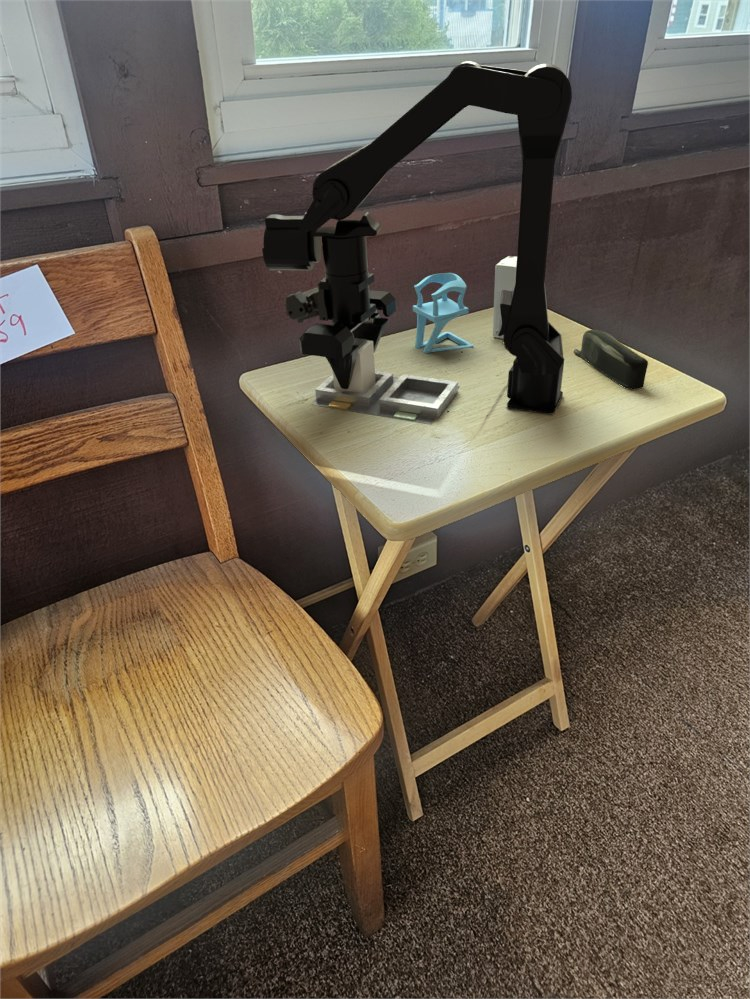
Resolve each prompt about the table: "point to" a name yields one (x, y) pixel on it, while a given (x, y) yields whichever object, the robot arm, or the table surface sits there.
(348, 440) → the table surface
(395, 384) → the grey double tray
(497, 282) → the skincare box
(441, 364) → the table surface
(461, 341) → the chair
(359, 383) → the plug
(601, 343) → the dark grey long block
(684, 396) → the table surface
